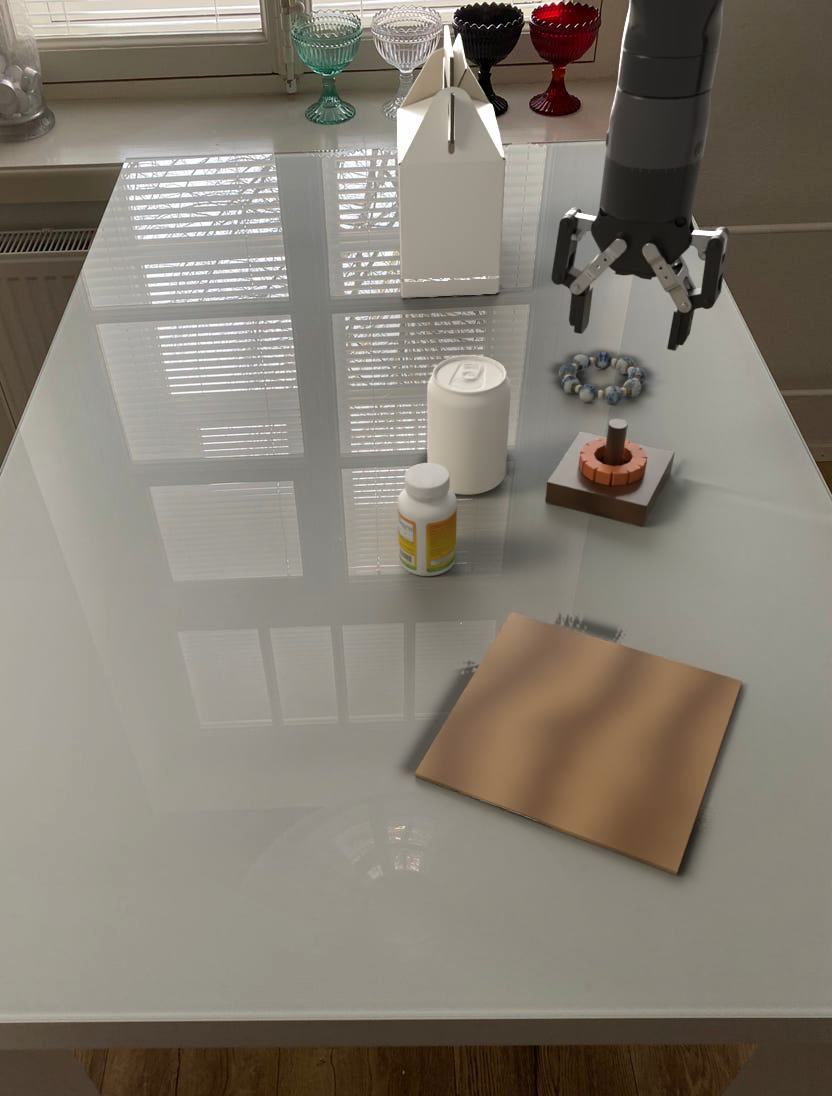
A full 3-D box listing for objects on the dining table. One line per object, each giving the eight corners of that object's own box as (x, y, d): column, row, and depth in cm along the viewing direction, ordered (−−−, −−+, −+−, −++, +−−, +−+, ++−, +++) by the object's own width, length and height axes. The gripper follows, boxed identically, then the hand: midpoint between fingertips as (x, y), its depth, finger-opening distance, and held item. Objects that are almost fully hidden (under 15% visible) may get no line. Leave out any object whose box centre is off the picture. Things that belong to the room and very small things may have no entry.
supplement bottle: (460, 545, 96) (463, 461, 89) (449, 581, 92) (451, 496, 85) (406, 538, 97) (404, 454, 90) (393, 573, 93) (390, 488, 86)
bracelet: (658, 397, 113) (661, 382, 111) (579, 414, 111) (581, 398, 110) (618, 358, 120) (620, 343, 118) (543, 373, 118) (545, 358, 117)
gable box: (499, 296, 133) (510, 62, 114) (401, 300, 134) (395, 68, 114) (487, 229, 149) (495, 15, 130) (399, 234, 150) (394, 21, 130)
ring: (652, 457, 100) (654, 445, 99) (633, 491, 96) (636, 479, 95) (590, 443, 102) (592, 431, 101) (570, 476, 98) (571, 464, 98)
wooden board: (741, 684, 81) (742, 680, 80) (676, 875, 68) (677, 872, 68) (510, 615, 88) (511, 611, 88) (414, 776, 76) (414, 773, 76)
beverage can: (420, 495, 102) (419, 391, 93) (435, 451, 107) (435, 349, 99) (499, 503, 100) (505, 398, 92) (509, 458, 106) (516, 355, 97)
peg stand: (670, 472, 102) (683, 408, 97) (643, 527, 96) (655, 462, 91) (577, 451, 106) (584, 388, 101) (544, 502, 100) (551, 438, 95)
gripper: (757, 142, 78) (716, 333, 89) (583, 124, 83) (564, 307, 95) (736, 175, 73) (695, 372, 85) (552, 153, 79) (537, 342, 90)
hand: (626, 337), depth 90 cm, fingers open, 8 cm apart
